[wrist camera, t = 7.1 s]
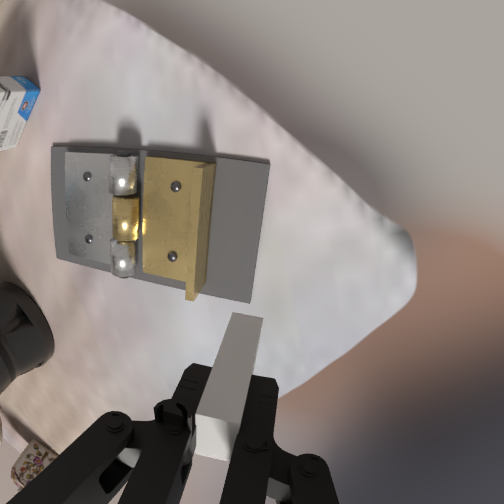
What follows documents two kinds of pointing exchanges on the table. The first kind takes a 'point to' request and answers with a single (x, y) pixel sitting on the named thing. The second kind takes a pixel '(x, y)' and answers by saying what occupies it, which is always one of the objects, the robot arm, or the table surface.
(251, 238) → the grey two-tone fixture
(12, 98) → the ink box
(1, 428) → the bowl
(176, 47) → the table surface
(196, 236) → the loose leaf
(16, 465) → the decorative jar
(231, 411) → the robot arm
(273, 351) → the table surface
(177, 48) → the table surface
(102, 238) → the fixed leaf
